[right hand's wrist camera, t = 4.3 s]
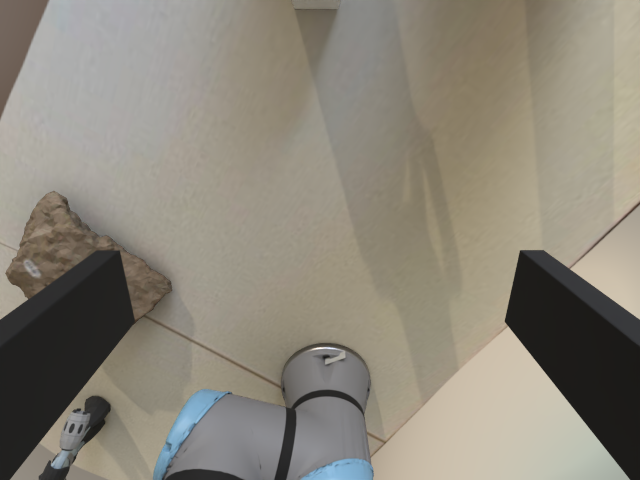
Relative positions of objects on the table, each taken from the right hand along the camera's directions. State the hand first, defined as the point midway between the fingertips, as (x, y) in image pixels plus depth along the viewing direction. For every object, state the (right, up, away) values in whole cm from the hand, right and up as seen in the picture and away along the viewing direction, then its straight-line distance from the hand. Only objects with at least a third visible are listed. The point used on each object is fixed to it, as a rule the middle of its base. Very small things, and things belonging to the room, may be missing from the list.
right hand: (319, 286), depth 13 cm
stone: (-34, -2, +45) cm, 56 cm away
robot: (-41, -30, +56) cm, 75 cm away
